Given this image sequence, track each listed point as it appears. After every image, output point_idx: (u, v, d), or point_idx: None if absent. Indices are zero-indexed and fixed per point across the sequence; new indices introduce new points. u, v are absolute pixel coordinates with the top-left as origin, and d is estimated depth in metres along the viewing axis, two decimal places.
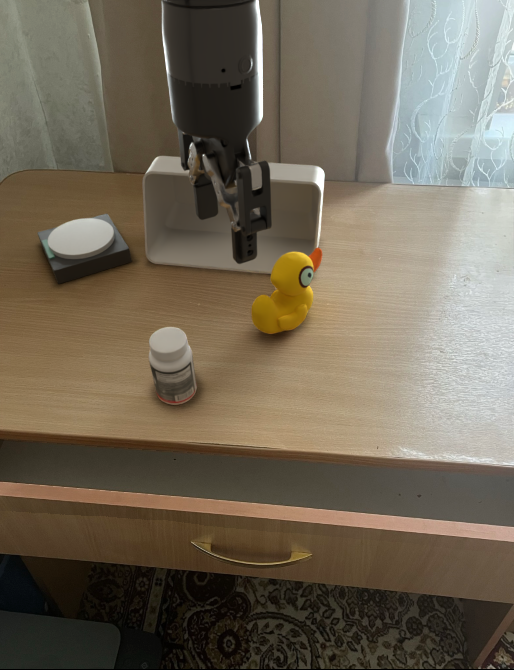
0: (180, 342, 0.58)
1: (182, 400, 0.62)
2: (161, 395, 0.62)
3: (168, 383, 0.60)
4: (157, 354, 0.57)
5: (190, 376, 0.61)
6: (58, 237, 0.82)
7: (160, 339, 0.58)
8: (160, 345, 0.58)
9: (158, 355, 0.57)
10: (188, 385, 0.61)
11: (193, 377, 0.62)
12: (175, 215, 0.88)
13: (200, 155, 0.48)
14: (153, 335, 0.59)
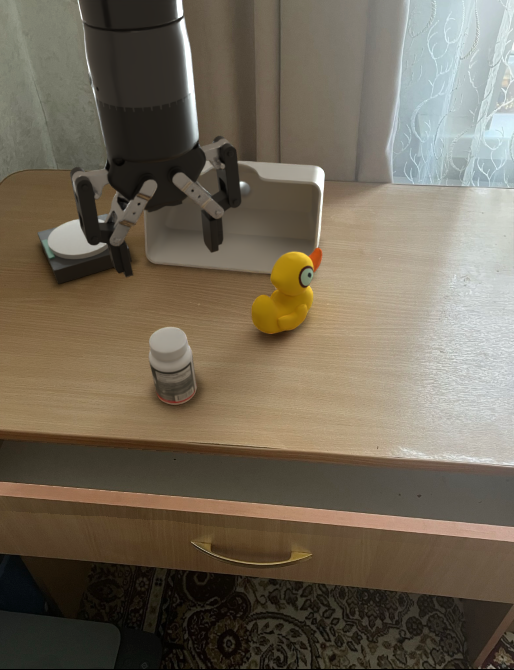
0: (180, 342, 0.58)
1: (182, 400, 0.62)
2: (161, 395, 0.62)
3: (168, 383, 0.60)
4: (157, 354, 0.57)
5: (190, 376, 0.61)
6: (58, 237, 0.82)
7: (160, 339, 0.58)
8: (160, 345, 0.58)
9: (158, 355, 0.57)
10: (188, 385, 0.61)
11: (193, 377, 0.62)
12: (175, 215, 0.88)
13: None
14: (153, 335, 0.59)
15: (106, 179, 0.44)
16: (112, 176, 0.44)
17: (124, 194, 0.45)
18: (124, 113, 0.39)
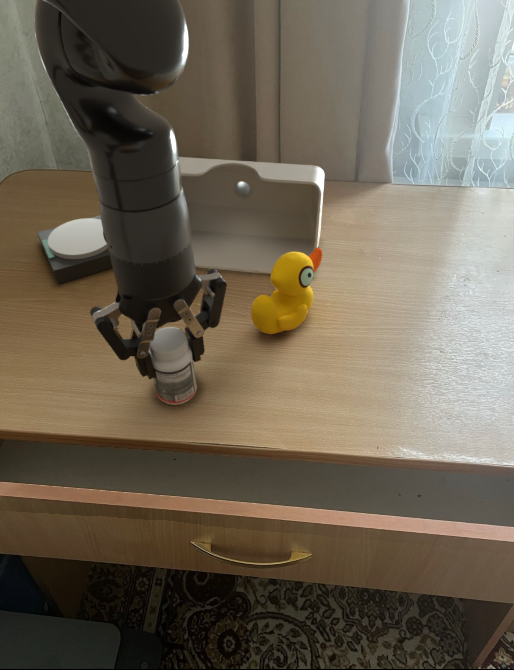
0: (180, 342, 0.58)
1: (182, 400, 0.62)
2: (161, 395, 0.62)
3: (168, 383, 0.60)
4: (157, 354, 0.57)
5: (190, 376, 0.61)
6: (58, 237, 0.82)
7: (160, 339, 0.58)
8: (160, 345, 0.58)
9: (158, 355, 0.57)
10: (188, 385, 0.61)
11: (193, 377, 0.62)
12: None
13: None
14: None
15: (117, 308, 0.52)
16: (123, 307, 0.52)
17: (137, 322, 0.54)
18: (134, 266, 0.47)
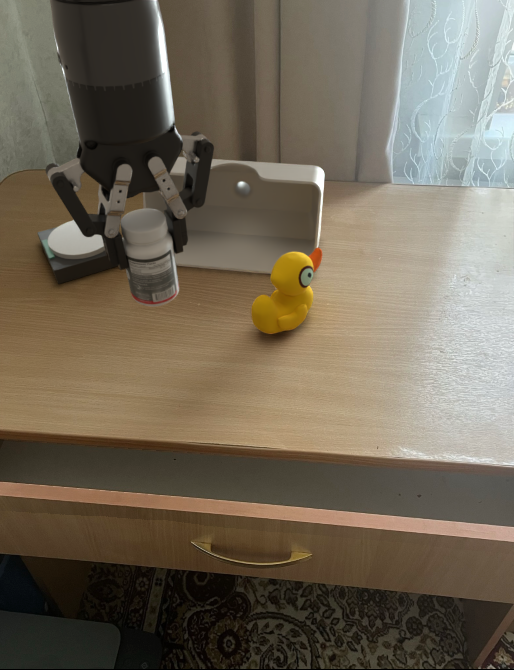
0: (157, 222, 0.48)
1: (162, 301, 0.53)
2: (136, 294, 0.52)
3: (143, 275, 0.50)
4: (129, 235, 0.48)
5: (170, 270, 0.51)
6: (58, 237, 0.82)
7: (134, 219, 0.49)
8: (134, 225, 0.48)
9: (131, 236, 0.48)
10: (168, 280, 0.52)
11: (174, 273, 0.52)
12: None
13: None
14: (126, 216, 0.49)
15: (78, 164, 0.43)
16: (85, 160, 0.42)
17: (103, 185, 0.44)
18: (95, 92, 0.38)
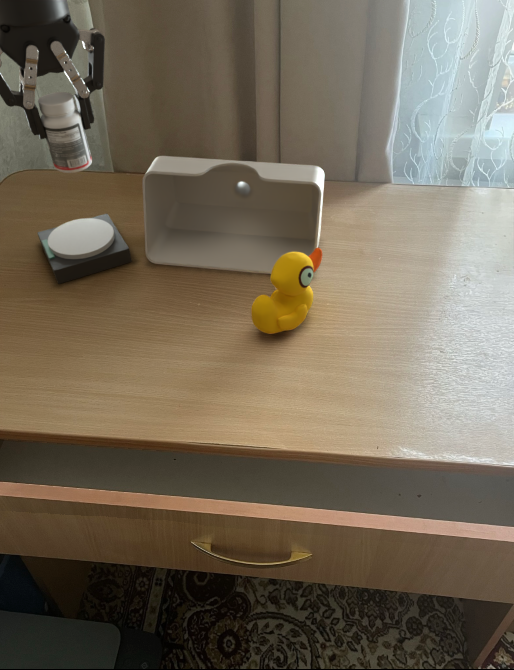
0: (66, 99, 0.64)
1: (76, 168, 0.68)
2: (56, 162, 0.68)
3: (58, 143, 0.65)
4: (44, 108, 0.63)
5: (80, 141, 0.66)
6: (58, 237, 0.82)
7: (48, 98, 0.64)
8: (47, 101, 0.63)
9: (45, 109, 0.63)
10: (79, 150, 0.67)
11: (85, 145, 0.67)
12: (175, 215, 0.88)
13: None
14: (43, 96, 0.64)
15: None
16: (1, 41, 0.58)
17: (18, 64, 0.59)
18: None
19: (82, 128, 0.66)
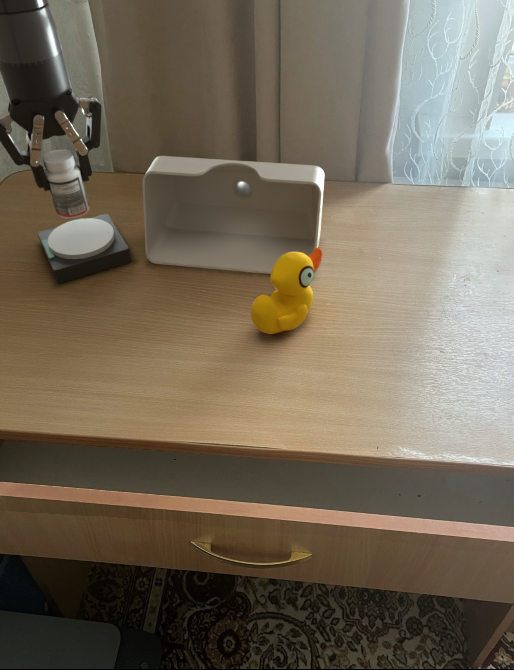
0: (67, 157, 0.73)
1: (75, 215, 0.77)
2: (58, 210, 0.77)
3: (60, 195, 0.74)
4: (48, 165, 0.72)
5: (79, 192, 0.75)
6: (58, 237, 0.82)
7: (52, 155, 0.73)
8: (51, 159, 0.72)
9: (49, 166, 0.72)
10: (78, 199, 0.76)
11: (83, 195, 0.76)
12: (175, 215, 0.88)
13: None
14: (47, 154, 0.73)
15: (9, 115, 0.67)
16: (12, 112, 0.66)
17: (26, 130, 0.68)
18: (12, 67, 0.62)
19: (81, 180, 0.75)
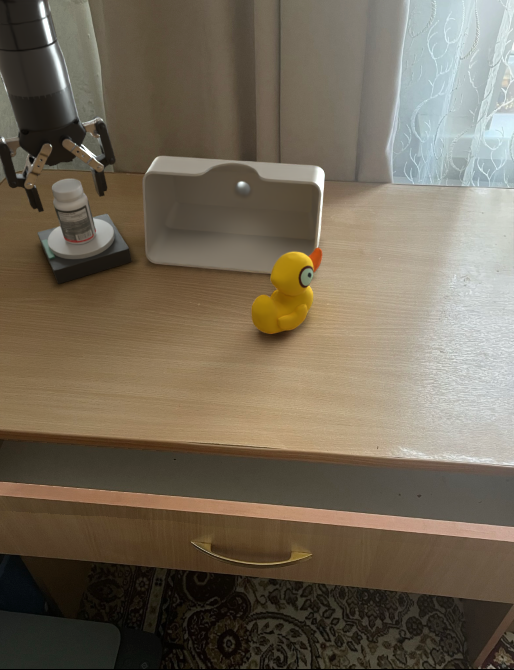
0: (75, 186, 0.76)
1: (83, 240, 0.80)
2: (65, 236, 0.80)
3: (68, 222, 0.77)
4: (56, 194, 0.75)
5: (86, 219, 0.78)
6: (58, 237, 0.82)
7: (60, 185, 0.76)
8: (60, 188, 0.75)
9: (58, 195, 0.75)
10: (85, 226, 0.79)
11: (90, 221, 0.79)
12: (175, 215, 0.88)
13: None
14: (55, 183, 0.76)
15: (18, 143, 0.69)
16: (21, 141, 0.69)
17: (31, 153, 0.70)
18: (23, 100, 0.65)
19: (88, 208, 0.78)
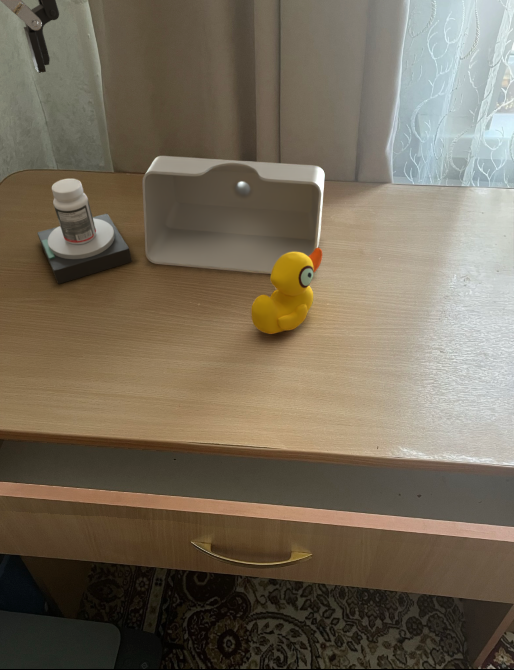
0: (75, 186, 0.76)
1: (83, 240, 0.80)
2: (65, 236, 0.80)
3: (68, 222, 0.77)
4: (56, 194, 0.75)
5: (86, 219, 0.78)
6: (58, 237, 0.82)
7: (60, 185, 0.76)
8: (60, 188, 0.75)
9: (58, 195, 0.75)
10: (85, 226, 0.79)
11: (90, 221, 0.79)
12: (175, 215, 0.88)
13: None
14: (55, 183, 0.76)
15: None
16: None
17: None
18: None
19: (88, 208, 0.78)
